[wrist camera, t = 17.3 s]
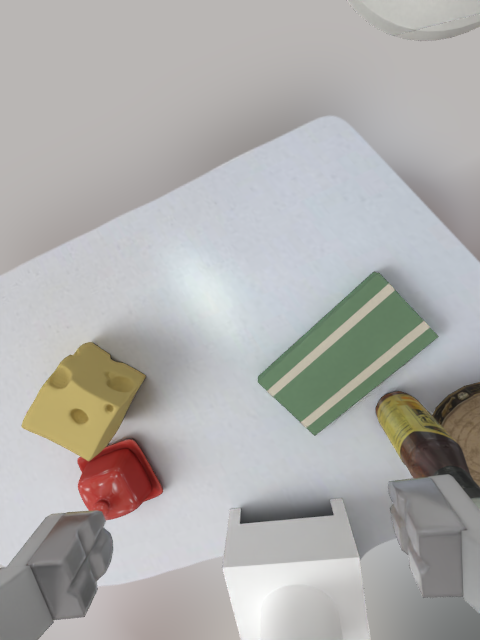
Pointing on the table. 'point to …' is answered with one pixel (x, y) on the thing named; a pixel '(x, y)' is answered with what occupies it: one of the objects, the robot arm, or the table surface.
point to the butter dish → (117, 480)
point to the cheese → (84, 401)
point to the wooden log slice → (463, 423)
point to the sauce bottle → (423, 442)
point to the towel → (347, 354)
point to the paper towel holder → (295, 578)
